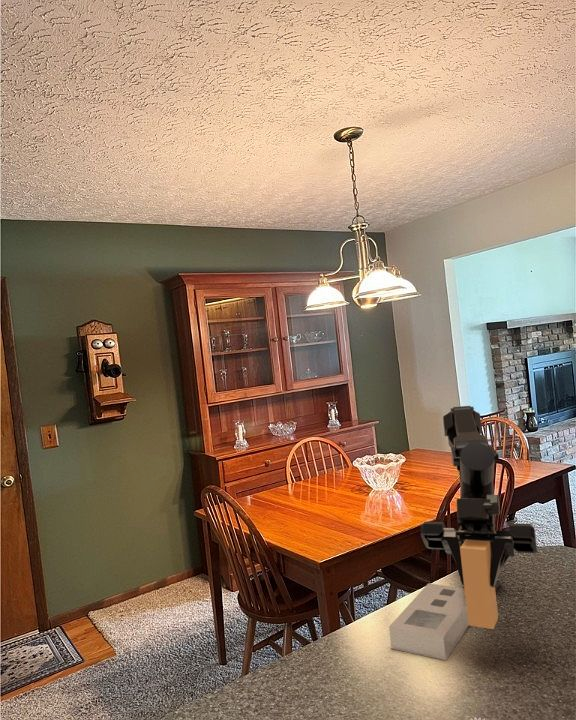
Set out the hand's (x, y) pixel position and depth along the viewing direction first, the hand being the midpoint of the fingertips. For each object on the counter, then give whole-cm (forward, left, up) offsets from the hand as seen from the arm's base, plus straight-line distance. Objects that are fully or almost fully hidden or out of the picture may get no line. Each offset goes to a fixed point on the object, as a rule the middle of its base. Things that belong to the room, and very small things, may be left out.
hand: (477, 585), depth 94 cm
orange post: (-1, 0, -7) cm, 7 cm away
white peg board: (-9, -11, -13) cm, 20 cm away
